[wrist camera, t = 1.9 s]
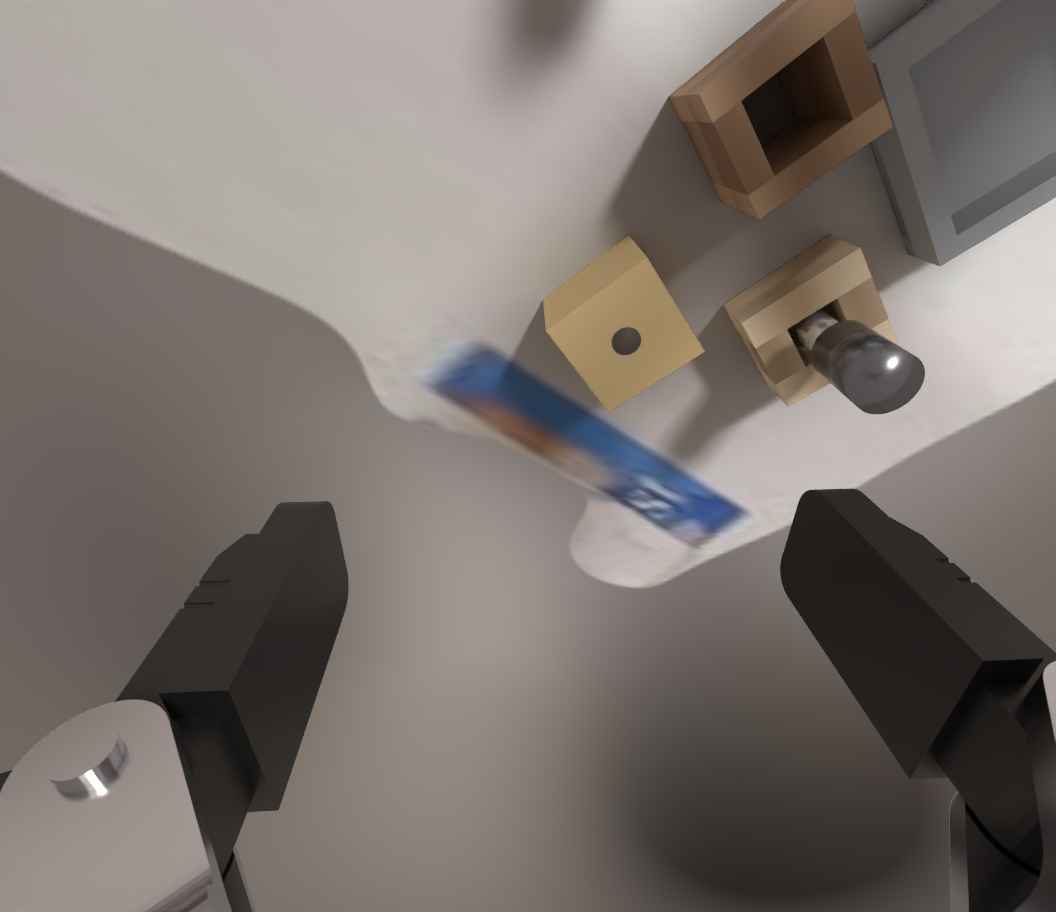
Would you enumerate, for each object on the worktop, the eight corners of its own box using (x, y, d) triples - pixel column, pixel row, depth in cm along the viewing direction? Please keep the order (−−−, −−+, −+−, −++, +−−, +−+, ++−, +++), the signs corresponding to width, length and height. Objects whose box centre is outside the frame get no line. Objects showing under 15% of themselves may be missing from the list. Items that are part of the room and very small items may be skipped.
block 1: (628, 234, 27) (647, 257, 23) (679, 317, 30) (705, 351, 26) (542, 299, 29) (546, 331, 25) (597, 372, 32) (608, 412, 27)
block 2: (784, 1, 22) (844, -25, 18) (830, 123, 25) (892, 126, 20) (668, 96, 24) (699, 94, 20) (721, 202, 26) (759, 219, 22)
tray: (1102, -129, 20) (1170, -157, 18) (1130, 118, 25) (1186, 119, 23) (843, 66, 24) (875, 62, 21) (908, 254, 28) (940, 266, 26)
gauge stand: (829, 234, 27) (860, 247, 25) (867, 324, 30) (898, 344, 27) (722, 304, 29) (741, 323, 27) (766, 383, 32) (787, 406, 29)
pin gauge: (810, 279, 29) (913, 339, 21) (829, 319, 30) (932, 390, 22) (761, 310, 29) (843, 378, 22) (781, 348, 31) (866, 425, 23)
